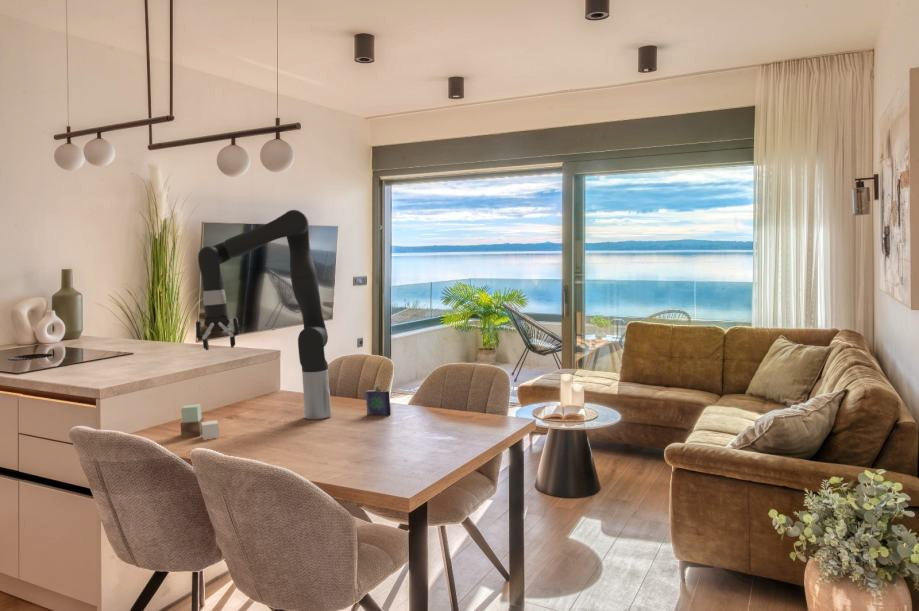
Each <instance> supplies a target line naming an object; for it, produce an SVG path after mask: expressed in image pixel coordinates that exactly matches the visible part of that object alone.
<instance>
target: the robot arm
mask: <svg viewBox="0 0 919 611" xmlns="http://www.w3.org/2000/svg"><path fill="white" fill-rule="evenodd" d="M309 225H310V224H309V219H308V218H307V216H306V214H305V213H303V212H302V211H300V210H297V209H290V210H287V211H286V212H285V213H284V214H282V215H280V216H279V217H277V218H276V219H274V220H272V221H269V222H268V223H266V224H263V225H261V226H258V227H256V228H253V229H250V230H247V231H244V232H242V233H239V234H237V235H234V236H232V237H230V238H227V239H225V240H224V241H223V242H220V243H217V244H216V245H212V246H204V247H202V248H201V249H200V250H199V252H198V254H197V256H198V257H197V259H198V261H197V262H198V266H199V269H200V270H199V271H200V274H201V278H202V279H201V280H202V282H201V283H202V296H203V297H202V299H203V300H202V302H203V310H204V318H205V319H204V321H200V320H198V321H196V322H195V327H196V328H195V331H196V332H195V333H196V339H201V341H202V344H203V346H202V348H203V349H205V351H209V349H210V346H209V339H208V337H209V335H210V334H211V333H216V332H226V334H227V335H228V336H229V341H230V348H234V347H235V346H236V336H238V335H239V334H240V326H239V320H238V317H234V318H229V315H228V314H229V313H228V305H227V296H226V292H225V291H226V290H225V283H224V276H223V275H222V272H221V264H224V263H226V262H228V261H230V260H231V259H235V258H237V257H238V258H239V257H240V256H243V255H245V254H248V253H251V252H253V251H254V250H257V249H259V248H261V247H263V246H265V245H266V244H268V243H271V242H273V241H276V240H278V239H281V238H286V240H287V244H288V248H289V269H290V270H289V272H290V273H289V274H290V275H289V276H290V280H291V287H292V292H293V295H294V298H295V300H296V302H297V305H298V307H299V309H300V313H301V316H302V323H303V329H302V330H301V331H300V332H299V334H298V337H297V347H298V348H297V349H298V357H299V358H298V359H299V363H300V367H301V374H302V387H303V388H302V390H303V402H304V404H303V405H304V406H303V407H304V416H305V417H304V418H305V419H306V420H322V419H325V418H331V417H332V406H331V404H332V403H331V392H330V391H331V390H330V383H329V381H330V380H329V367H328V366H329V364H328V361H327V359H326V356H325V355H326V354H325V347H326V345H327V343H328V339H329V335H328V330H327V327H326V324H325V319H324V317H323V311H322V305H321V297H320V296H321V294H320V289H319V281H318V275H317V270H316V266H315V262H314V258H313V255H312V251H311V247H310V236H309V235H310V233H309V231H310V230H309ZM230 323H231V324H232V325H233V328H234V331H232V329H231V328H230V327H229V324H230ZM204 326H206V331H205V332H204V334H202V328H203V327H204Z"/></svg>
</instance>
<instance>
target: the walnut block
mask: <svg viewBox="0 0 919 611" xmlns="http://www.w3.org/2000/svg"><path fill="white" fill-rule="evenodd" d="M201 422H205V420H204V417H202V418H201V419H200V421H199V422H189V423H183V421H181V422H180V435H181V438H193V437H194V438H195V437H196V438H197V437H202V426H201Z"/></svg>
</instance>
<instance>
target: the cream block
mask: <svg viewBox="0 0 919 611" xmlns="http://www.w3.org/2000/svg"><path fill="white" fill-rule="evenodd" d="M201 426H202V435H201V437H202V440H203V441H207V439H209V440H214V439H213V438H216V439H220V428H219V427H220V426H219V422H218V420H217V419H215V420H211V421H210V420H209V421H208V420H207V421H204V422H201Z"/></svg>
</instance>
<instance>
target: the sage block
mask: <svg viewBox="0 0 919 611" xmlns="http://www.w3.org/2000/svg"><path fill="white" fill-rule="evenodd" d="M201 404H202V403H197V404H195V403H194V404H185V405H184V406H182V407H181V418H182V420H181V422H183V423H189V422H199V421H200V419H201V418H203V416H202V405H201Z"/></svg>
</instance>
